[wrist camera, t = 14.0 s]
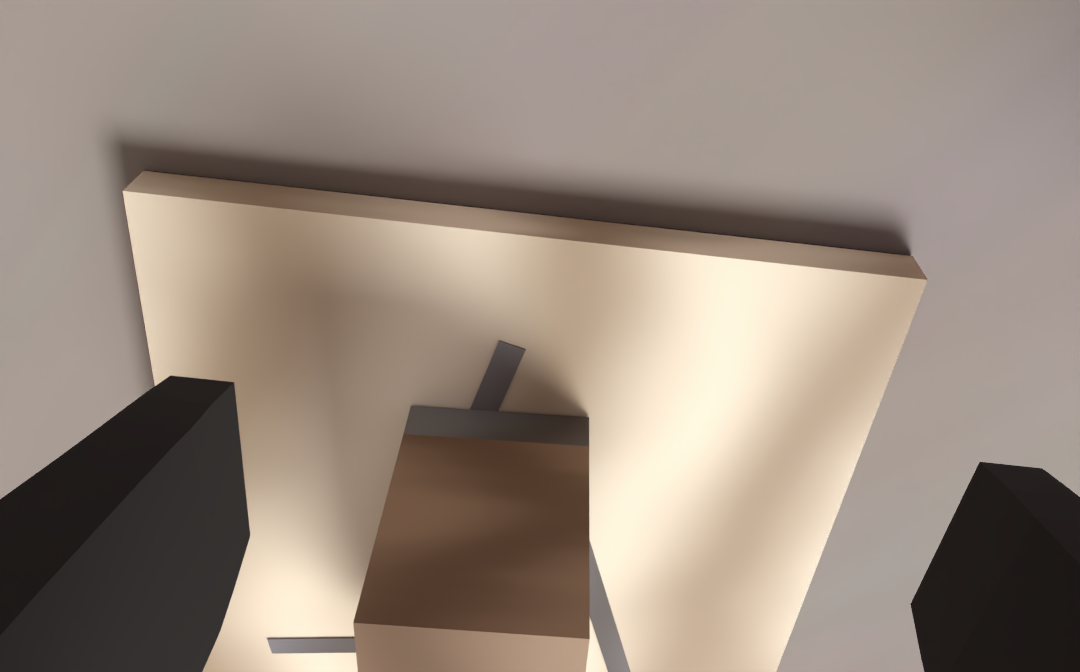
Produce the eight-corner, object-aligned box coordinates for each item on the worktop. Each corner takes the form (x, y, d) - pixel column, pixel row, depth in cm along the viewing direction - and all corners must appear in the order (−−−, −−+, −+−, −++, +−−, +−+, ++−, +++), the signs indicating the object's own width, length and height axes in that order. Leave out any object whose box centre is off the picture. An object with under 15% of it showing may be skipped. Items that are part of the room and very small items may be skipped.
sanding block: (589, 417, 20) (589, 639, 15) (566, 648, 25) (560, 879, 20) (411, 405, 20) (352, 623, 15) (419, 637, 25) (376, 866, 20)
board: (912, 256, 19) (928, 281, 18) (728, 754, 29) (732, 786, 28) (143, 170, 19) (121, 191, 18) (223, 703, 29) (211, 734, 28)
